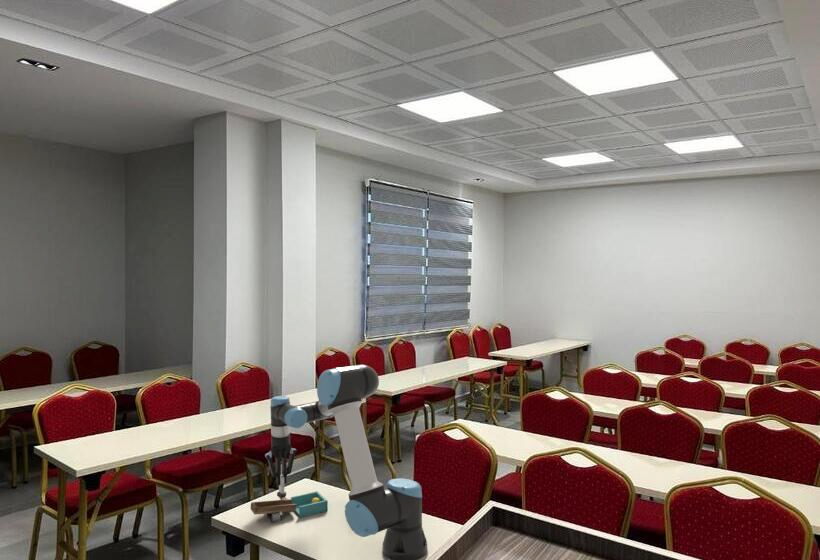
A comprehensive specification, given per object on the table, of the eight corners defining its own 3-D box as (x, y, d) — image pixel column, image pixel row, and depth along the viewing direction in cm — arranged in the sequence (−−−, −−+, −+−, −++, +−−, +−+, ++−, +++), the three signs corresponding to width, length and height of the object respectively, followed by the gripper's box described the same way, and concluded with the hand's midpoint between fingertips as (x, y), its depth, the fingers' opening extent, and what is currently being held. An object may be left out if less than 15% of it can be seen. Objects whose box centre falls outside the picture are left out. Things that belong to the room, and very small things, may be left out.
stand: (282, 521, 210) (282, 512, 210) (271, 523, 208) (271, 515, 208) (274, 511, 218) (274, 503, 218) (264, 514, 216) (264, 505, 216)
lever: (297, 513, 215) (298, 504, 215) (254, 518, 206) (255, 508, 206) (283, 498, 229) (284, 489, 229) (242, 501, 221) (243, 492, 221)
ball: (312, 506, 219) (319, 508, 221) (315, 498, 220) (322, 500, 221) (309, 503, 222) (316, 505, 223) (312, 495, 222) (319, 497, 224)
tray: (327, 510, 218) (327, 500, 218) (300, 517, 213) (299, 507, 213) (317, 500, 228) (317, 491, 228) (290, 507, 222) (290, 497, 222)
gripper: (293, 429, 233) (294, 485, 233) (262, 435, 226) (263, 492, 227) (299, 434, 226) (300, 491, 227) (267, 440, 219) (268, 499, 220)
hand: (281, 492), depth 227 cm, fingers closed
